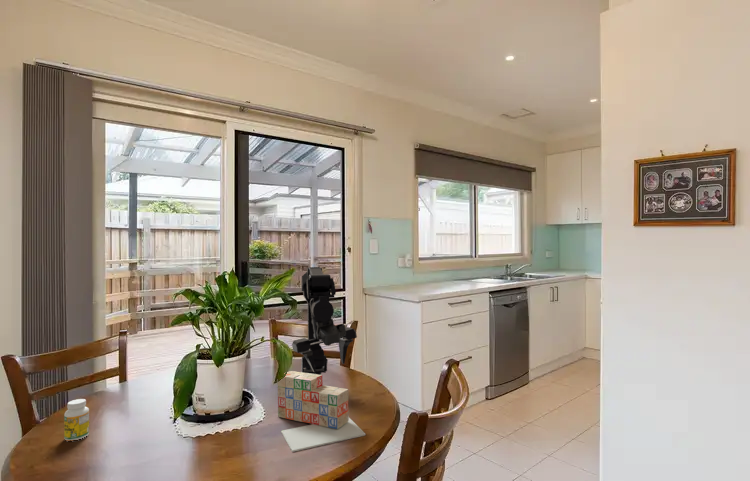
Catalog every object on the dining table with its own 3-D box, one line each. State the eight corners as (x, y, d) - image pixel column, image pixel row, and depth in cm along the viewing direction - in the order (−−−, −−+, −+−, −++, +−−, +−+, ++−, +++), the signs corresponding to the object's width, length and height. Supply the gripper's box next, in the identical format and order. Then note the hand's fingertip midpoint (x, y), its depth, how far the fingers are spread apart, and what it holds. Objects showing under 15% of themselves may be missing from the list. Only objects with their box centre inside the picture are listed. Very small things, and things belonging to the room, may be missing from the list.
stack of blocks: (349, 421, 116) (348, 378, 116) (337, 430, 110) (336, 384, 111) (290, 409, 126) (290, 369, 126) (277, 416, 120) (277, 375, 121)
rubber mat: (281, 432, 110) (281, 430, 110) (348, 418, 119) (348, 417, 119) (292, 452, 100) (292, 450, 100) (365, 435, 108) (365, 433, 108)
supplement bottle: (93, 434, 110) (94, 399, 110) (73, 443, 104) (74, 406, 105) (79, 431, 111) (79, 396, 111) (58, 440, 106) (59, 404, 106)
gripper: (298, 326, 109) (307, 383, 109) (360, 311, 118) (368, 364, 117) (288, 322, 119) (296, 374, 119) (345, 309, 128) (353, 357, 127)
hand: (329, 367), depth 120 cm, fingers open, 9 cm apart
